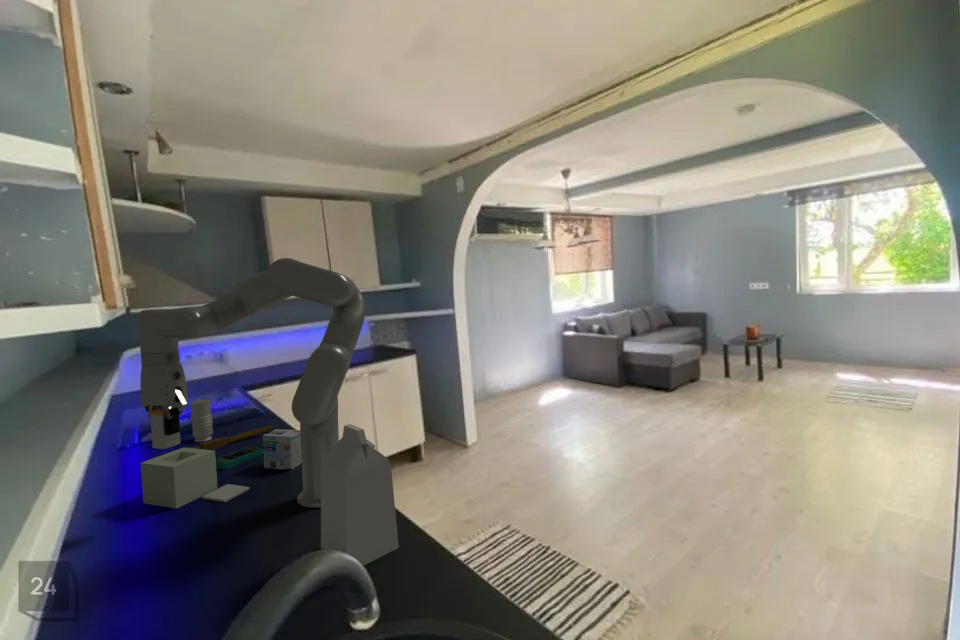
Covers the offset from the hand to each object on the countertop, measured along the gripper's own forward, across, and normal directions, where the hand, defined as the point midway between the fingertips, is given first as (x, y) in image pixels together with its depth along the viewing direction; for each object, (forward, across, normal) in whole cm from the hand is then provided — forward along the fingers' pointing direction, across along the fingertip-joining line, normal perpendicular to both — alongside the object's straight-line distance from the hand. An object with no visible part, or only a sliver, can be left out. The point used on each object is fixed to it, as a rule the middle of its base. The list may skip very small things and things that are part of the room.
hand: (165, 432), depth 106 cm
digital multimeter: (+22, +14, -34) cm, 43 cm away
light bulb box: (+22, -5, -34) cm, 41 cm away
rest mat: (+21, -3, -13) cm, 25 cm away
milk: (+21, -54, +1) cm, 58 cm away
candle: (+21, +47, -49) cm, 71 cm away
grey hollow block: (+21, +8, -9) cm, 25 cm away
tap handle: (+22, +32, -49) cm, 62 cm away
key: (+3, 0, 0) cm, 3 cm away
